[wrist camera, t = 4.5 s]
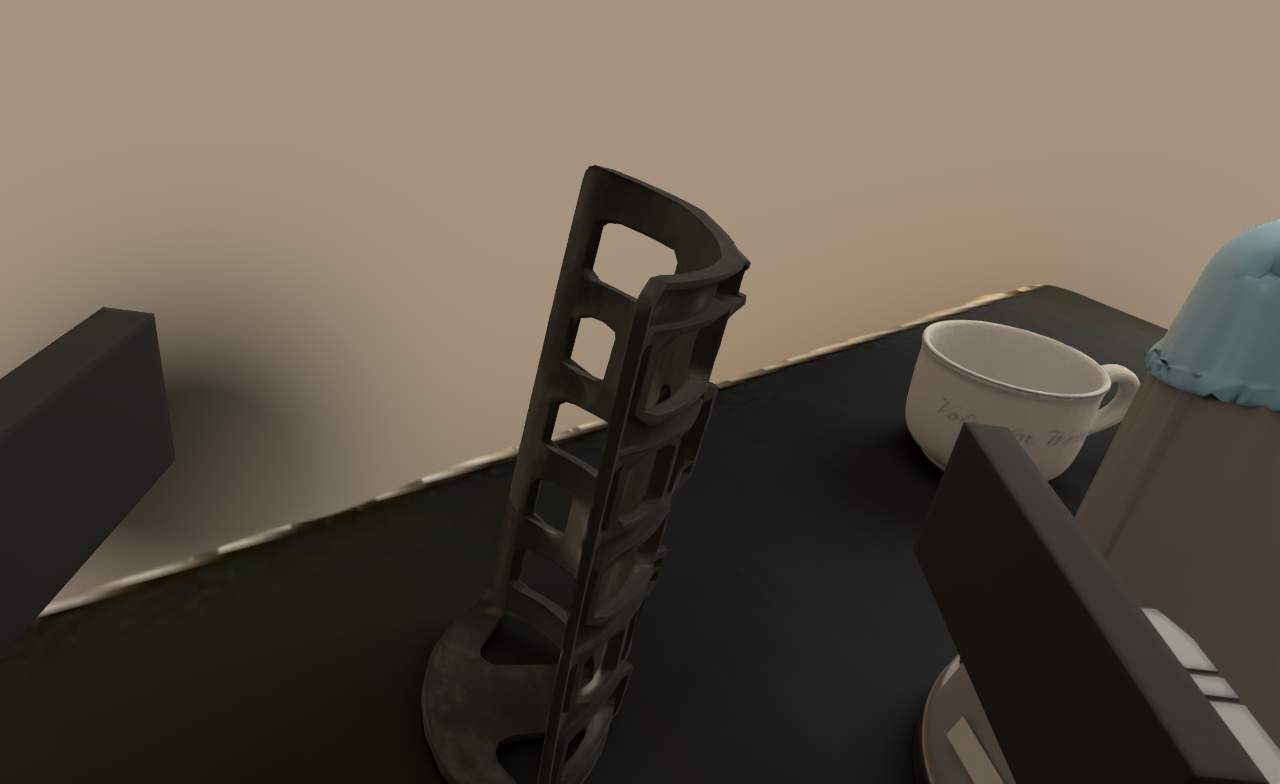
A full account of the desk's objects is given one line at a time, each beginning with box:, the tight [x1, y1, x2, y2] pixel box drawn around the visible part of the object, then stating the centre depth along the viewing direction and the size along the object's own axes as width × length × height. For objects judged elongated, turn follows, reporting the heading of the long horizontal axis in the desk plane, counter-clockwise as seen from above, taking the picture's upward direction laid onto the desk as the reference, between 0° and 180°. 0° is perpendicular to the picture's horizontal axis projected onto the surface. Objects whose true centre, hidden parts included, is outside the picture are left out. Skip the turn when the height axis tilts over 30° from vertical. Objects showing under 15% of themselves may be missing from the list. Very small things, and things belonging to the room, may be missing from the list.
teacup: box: [906, 320, 1140, 481], centre depth 51 cm, size 14×11×8 cm
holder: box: [421, 165, 751, 784], centre depth 28 cm, size 11×8×20 cm
